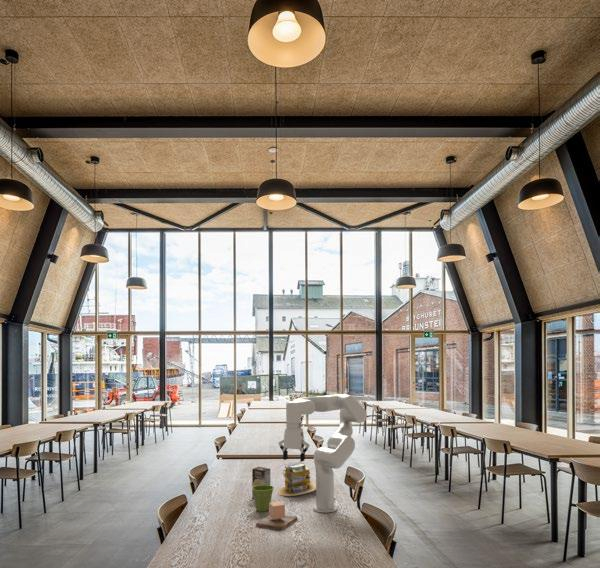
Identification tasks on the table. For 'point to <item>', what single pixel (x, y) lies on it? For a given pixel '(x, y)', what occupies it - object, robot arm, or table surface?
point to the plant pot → (262, 496)
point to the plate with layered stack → (297, 480)
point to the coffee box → (260, 477)
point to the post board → (276, 522)
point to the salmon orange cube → (277, 510)
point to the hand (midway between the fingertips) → (293, 460)
